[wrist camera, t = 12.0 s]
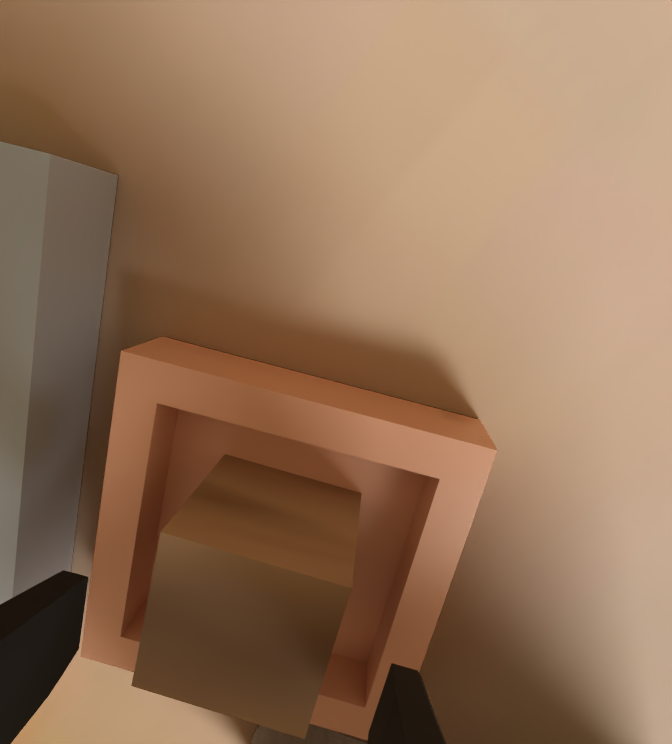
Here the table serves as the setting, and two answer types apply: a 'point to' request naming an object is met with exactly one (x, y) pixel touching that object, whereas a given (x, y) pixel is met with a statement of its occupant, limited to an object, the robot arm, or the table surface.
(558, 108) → the table surface
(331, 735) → the hip flask
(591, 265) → the table surface
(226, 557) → the walnut cube
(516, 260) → the table surface
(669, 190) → the table surface
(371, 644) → the tray
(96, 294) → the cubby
